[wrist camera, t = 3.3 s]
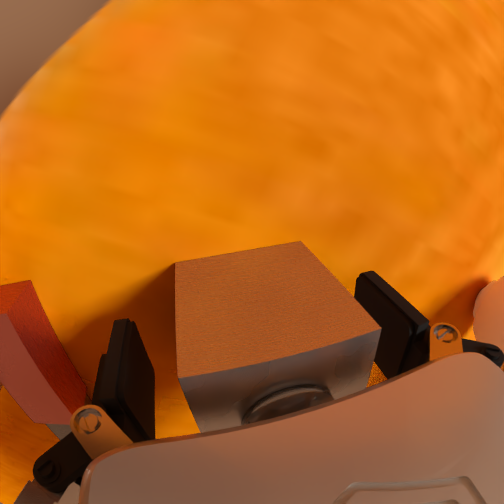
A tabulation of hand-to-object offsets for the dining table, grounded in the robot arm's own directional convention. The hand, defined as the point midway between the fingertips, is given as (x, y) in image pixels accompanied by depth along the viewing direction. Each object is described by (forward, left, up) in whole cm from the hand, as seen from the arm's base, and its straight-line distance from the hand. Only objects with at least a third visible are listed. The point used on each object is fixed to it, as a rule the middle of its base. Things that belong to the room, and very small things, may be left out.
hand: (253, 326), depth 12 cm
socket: (0, 0, -2) cm, 2 cm away
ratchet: (+11, +7, -2) cm, 13 cm away
